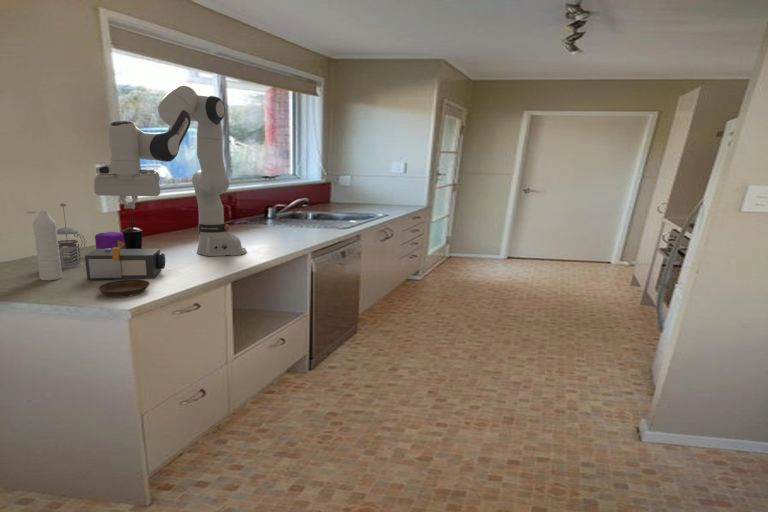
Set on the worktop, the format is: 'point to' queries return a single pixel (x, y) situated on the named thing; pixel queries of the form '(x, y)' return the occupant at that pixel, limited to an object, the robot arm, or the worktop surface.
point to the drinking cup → (132, 237)
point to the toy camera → (109, 240)
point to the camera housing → (132, 262)
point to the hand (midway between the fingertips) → (129, 208)
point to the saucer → (124, 287)
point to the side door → (106, 266)
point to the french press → (69, 247)
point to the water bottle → (46, 246)
